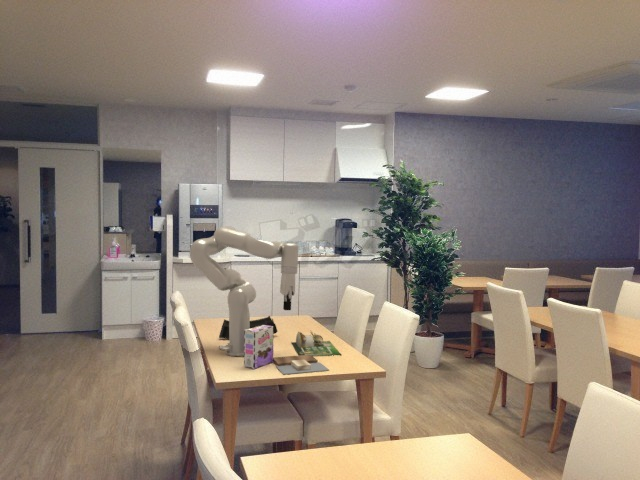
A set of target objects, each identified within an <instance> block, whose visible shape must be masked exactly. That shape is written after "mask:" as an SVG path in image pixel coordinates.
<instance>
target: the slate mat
mask: <svg viewBox="0 0 640 480" xmlns="http://www.w3.org/2000/svg"><path fill="white" fill-rule="evenodd" d="M309 364H311V370H301V371H297V370H296V369H295V368H294V367H293V366H291V365H285V366H277V365H275V368H276V369H277V370H278V371H279V372H280V373H281V374H282V375H284V376H286V375H297V374H309V373H317V372H318V373H319V372H330V369H329V368H328V367H327V366H325V365H324V364H322V363H321V362H320V361H318V363H309Z"/></svg>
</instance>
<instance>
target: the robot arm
mask: <svg viewBox="0 0 640 480" xmlns="http://www.w3.org/2000/svg"><path fill="white" fill-rule="evenodd" d="M227 248H232V249H234V250H235V249H236V250H239V251H242V252H245V253H247V254H250V255H252V256H255V257H259V258H263V259H267V260H272V259H275V258H277V259H278V258H281V259H280V260H281V261H280V274H281V275H280V276H281V277H280V287H279V293H280V294H281V295H283V308H282V309H283V310H284V311H291V310H292V299H293V297H294V296H295V295H296V294H295V293H296V275H297V274H298V261H299V245H298V244H297V243H294V242H282V241H278V240H275V241H265V240H261V239H258V238H256V237H253V236H252V235H251V234H250V233H248V232H245V231H242V230H241V231H240V230H237V229H236V228H235V227H232V226H221V227H220V226H219V227H218V228H216V230H215V231H214V233H213V235H212V236H210V237H207V238H206V237H204V238H199V239H196V240H194V241H193V242H192V244H191V245H190V248H189V257H190V261H191V262H192V264H193V266H194V267H195V268H196V269H197V270H198V271H200V273H201V274H202V275H204V276H205V278H206V279H207V280H208V281H209V282H210V283H212V284H213V285H214V286H215V288H216V289H218V290H219V291H223V292H224V291H228V290H229V292H228V294H227V304H228V316H229V317H228V321H229V339H228V342H227V344H225V345H219V346H218V350H219V351H225V354H226V355H227V356H231V357H244V330H246V329H250V321H251V320H250V317H251V316H250V315H251V313H250V309H249V304H251V303H253V302H254V300H255V299H256V298H257V291H256V289H255V287H254V286H253V284H251V283H250V282H249V280H247V279H246V278H245V277H244V276H243V275H242V274H241V273H240V272H239V271H237V270H235V269H232V268H228V269H225V268H224V267H222V266H221V264H219V263H218V261H216V260H215V259H213V258H212V257H210V256H214V255H216V254H218V253H220V252H222V251H223V250H225V249H227Z"/></svg>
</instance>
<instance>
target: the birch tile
mask: <svg viewBox="0 0 640 480" xmlns="http://www.w3.org/2000/svg"><path fill="white" fill-rule="evenodd" d="M291 366H293V367H294V368H295V369H296V370H297V371H301V370H311V364H309V363H308V362H307V361H306V360H293V361H291Z"/></svg>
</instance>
